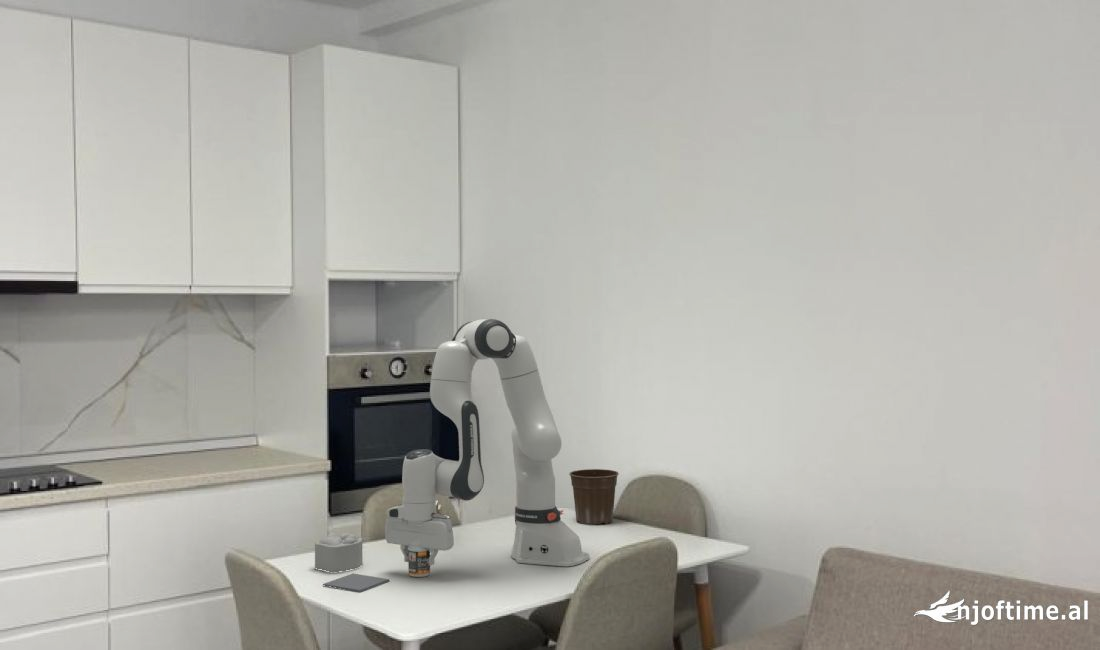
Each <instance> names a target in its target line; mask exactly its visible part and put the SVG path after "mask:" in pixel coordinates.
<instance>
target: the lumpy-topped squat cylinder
mask: <svg viewBox="0 0 1100 650" xmlns="http://www.w3.org/2000/svg"><path fill="white" fill-rule="evenodd" d="M361 565H362V566H363V538H362V537H360V536H357V535H356V534H351V533H348V532H344V533H342V534H340V535H336V534H335V533H329V534H328V535H326V537H323V538H322V539H320V540H317V541H316V542H314V569H315V568H317V569H322V570H326V571H329V572H339V571H346V570H350V569H355V568H358V567H360V566H361ZM362 566H361V567H362ZM361 567H360V568H361ZM358 569H359V568H358ZM355 570H356V569H355Z"/></svg>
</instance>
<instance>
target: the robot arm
mask: <svg viewBox="0 0 1100 650" xmlns="http://www.w3.org/2000/svg"><path fill="white" fill-rule="evenodd" d="M435 353H436V354H435V357H434V360H433V364H432V369H431V370H432V371H431V375H430V377H431V378H430V384H429V385H430V387H429V397H430V401H431V404H432V405H433V406H434V408H435V409H436V410H438V412H440V413H441V414H443V416H446V417H447V418H449V419H450V420H451V421H452V422H453V423H454V425H455V426H456V428H457V432H458V447H459V448H458V451H459V453H458V455H459V459H458V460H452V459H447V458H446V459H445V458H443V457H440V456H438V455H436V454H435V453H433V451H432V450H431V449H427V448H426V449H425V448H422V449H420V448H419V449H414V450H411V451H409V452H408V453H406V455H405V456H404V459H403V464H402V473H401V475H402V477H401V479H402V480H401V483H402V488H403V496H402V500H401V501H402V504H398V506H393V507H391V508H388V509H386V511H385V513H386V517H387V518H386V520H385V526H384V539H385V541H386V543H387V544H392V545H398V546H399V545H400V551H401V552H402V554H403V556H404V557H403V561H404V563H405V562H406V563H408V549H409V547H410V546H412V544H411V539H417V540H419V542H420V543H419V545H418V546H419V547H421V548H428V549H429V552H430V557H429V558H426V565H430V567H431V566H434V565H435V558H436V556H437V555H438V553H439V551H444V552H446V551H449V550H451V549H453V547H454V544H455V540H454V530H453V520H452V519H451V517H450V516H448V515H447V514H444V513H443V514H442V513H441V514H437V513H436V501H437V497H436V495H441V496H445V497H451V498H455V499H459V500H462V501H464V502H465V501H471V500H473V499H474V498H475V497H477V496H478V495H479V494H480V493H481V491H482V489H483V487H484V485H485V477H484V469H483V465H482V457H481V456H482V455H481V451H482V450H481V432H480V430H481V429H480V428H481V427H480V417H479V416H480V414H479V409H478V407H477V405H476V404H475V403H474V401H473V396H472V378H473V375H472V373H473V371H474V370H473V369H474V366H475V364H476V362H477V361H478V360H488V359H492V360H493V362H494V363H495V364H496V367H497V371H498V376H499V379H500V382H501V387H502V391H503V395H504V398H505V402H506V406H507V408H508V410H509V413H510V416H511V418H512V420H513V423H514V426H513V427H512V430H511V441H512V453H513V461H514V462H513V463H514V469H515V470H514V471H515V479H516V481H515V482H516V493H515V494H516V496H515V497H516V506H515V507H514V524H515V533H514V541H513V545H512V546H513V547H512V550H511V552H510V553H511V554H510V557H511V558H512V559H514V560H515V562H516V563H517V564H518V563H519V564H528V565H541V566H552V567H553V566H554V567H555V566H556V567H572V566H577V565H580V564H583V563H585V562H587V561H588V560H589V559H590V554H589V552H586V551H585V552H584V551H582V543H581V539H580V536H579V535H578V534H577V533H576V532H574V531H573V530H572V529H571V528H570V527H569V526H568V525H567V524H565V523H564V522H563V521H562V520H561V515H564V509H562V510H559V509H558V508H557V506H556V477H555V474H554V467H553V462H552V461H553V459H554V458H555V457H557V456H558V455H559V454H560V452H561V448H562V438H561V436H560V432H559V430H558V427H557V424H556V422H555V419H554V416H553V414H552V411H551V408H550V405H549V403H548V401H547V400H548V399H547V398H546V396H545V391H544V388H543V383H542V380H541V379H542V378H541V375H540V372H539V368H538V364H537V361H536V357H535V355H534V352H533V350H532V348H531V346H530V343H529V342H528V339H527V338H525V337H524V336H522V335H519V334H514V333H513V332H512V330H511V329H510V328H509V327H508V325H507V324H506V323H504V322H502V321H500V320H498V319H495V318H485V319H484V318H483V319H477V320H475V321H468V322H466V323H463V324H462V325H461V326H459V328H458V329H457V331H456V332H455V334H454V336H453V338H452V339H451V340H448V341H444V342H443V343H441V344H440V345H439V346H438V347H437V350H436V352H435ZM586 560H587V561H586Z"/></svg>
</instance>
